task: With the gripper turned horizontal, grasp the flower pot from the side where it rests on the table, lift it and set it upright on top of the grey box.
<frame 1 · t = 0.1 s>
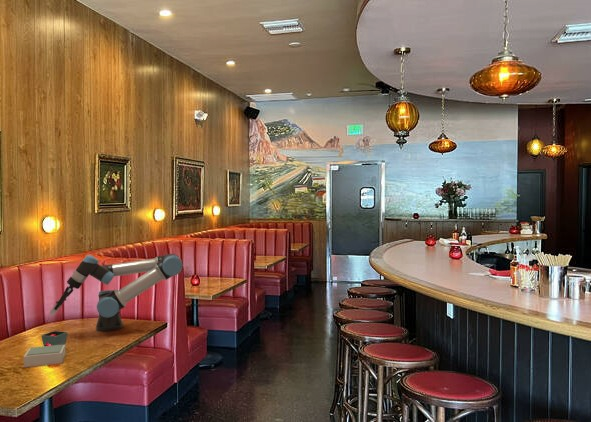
hand: (53, 311, 270), 15 cm above the table, tool tilted 35°, fingers open, 13 cm apart
grey box: (45, 360, 233), on the table
flower pot: (54, 351, 249), on the table
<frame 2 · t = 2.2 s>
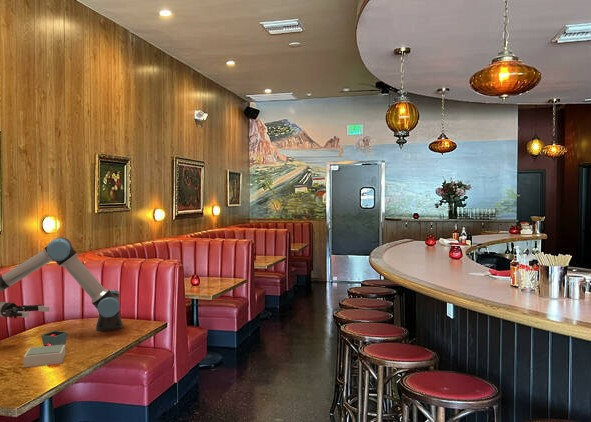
hand: (38, 311, 251), 20 cm above the table, tool horizontal, fingers open, 13 cm apart
nothing on the table moved.
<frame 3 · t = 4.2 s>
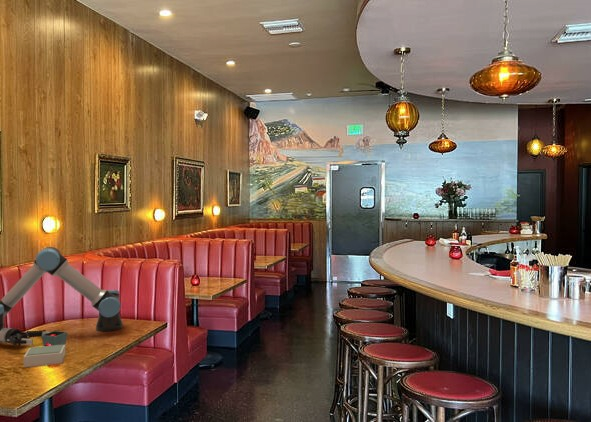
hand: (42, 338, 250), 6 cm above the table, tool horizontal, fingers open, 13 cm apart
nothing on the table moved.
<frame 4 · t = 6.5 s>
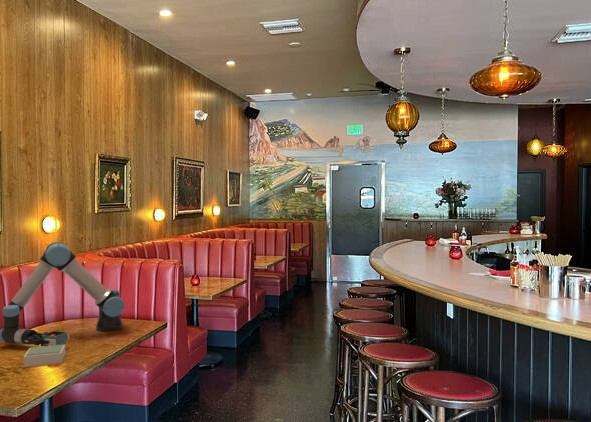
hand: (61, 339, 247), 6 cm above the table, tool horizontal, fingers closed on flower pot, 9 cm apart
flower pot: (54, 351, 249), on the table, touching gripper
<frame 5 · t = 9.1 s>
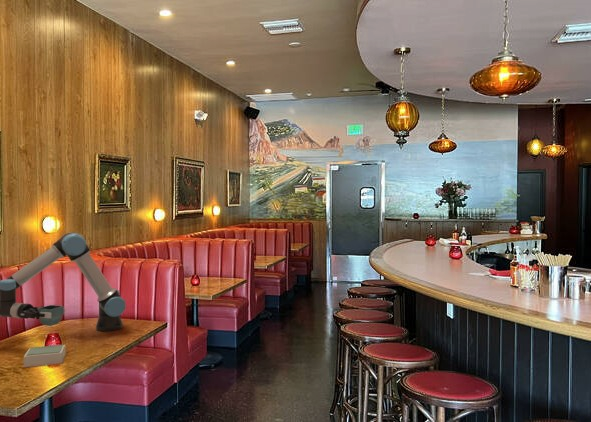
hand: (57, 313, 244), 20 cm above the table, tool horizontal, fingers closed on flower pot, 9 cm apart
flower pot: (50, 325, 245), point 14 cm above the table, touching gripper
when the fingers open (13 cm above the table, at t = 11.7 s): flower pot stays where it is, resting on grey box.
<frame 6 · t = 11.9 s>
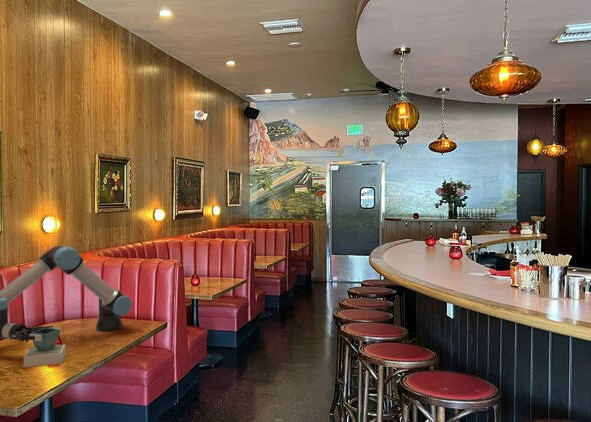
hand: (51, 334, 232), 13 cm above the table, tool horizontal, fingers open, 12 cm apart
flower pot: (45, 349, 233), point 5 cm above the table, touching grey box
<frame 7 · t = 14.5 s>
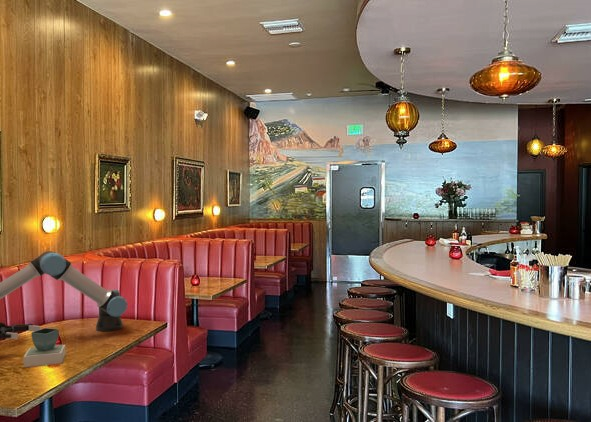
hand: (29, 332, 235), 13 cm above the table, tool horizontal, fingers open, 13 cm apart
nothing on the table moved.
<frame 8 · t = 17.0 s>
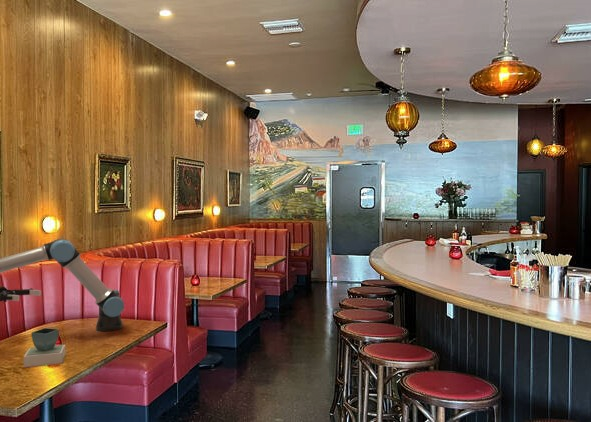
hand: (29, 295, 241), 30 cm above the table, tool horizontal, fingers open, 13 cm apart
nothing on the table moved.
at the end: flower pot inside the target area on the grey box (0.3 cm from its centre), point 5.3 cm above the grey box's base; flower pot tilted 0°; the gripper is holding nothing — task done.
